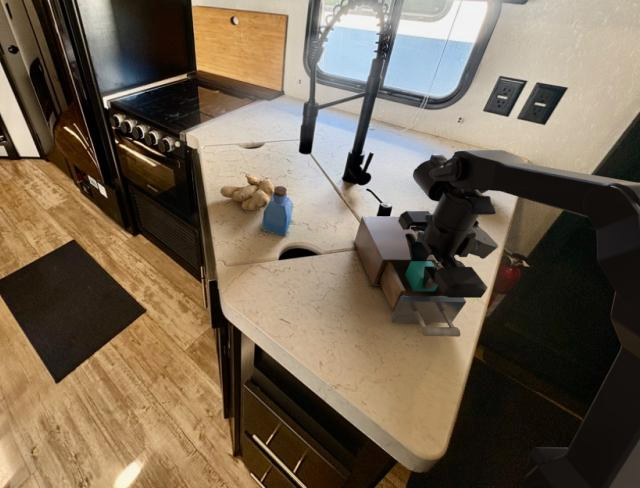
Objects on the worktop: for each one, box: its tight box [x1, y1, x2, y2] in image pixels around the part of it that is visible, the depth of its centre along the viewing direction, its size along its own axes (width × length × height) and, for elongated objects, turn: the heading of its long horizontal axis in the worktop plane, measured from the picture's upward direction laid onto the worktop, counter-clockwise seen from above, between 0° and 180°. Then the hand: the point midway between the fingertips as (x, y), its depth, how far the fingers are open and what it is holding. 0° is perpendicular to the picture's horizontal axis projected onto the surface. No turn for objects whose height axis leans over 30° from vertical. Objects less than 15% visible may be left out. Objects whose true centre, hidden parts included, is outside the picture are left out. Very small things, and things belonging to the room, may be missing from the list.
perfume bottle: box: [262, 185, 294, 237], centre depth 81 cm, size 6×6×12 cm
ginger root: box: [219, 173, 277, 211], centre depth 91 cm, size 16×16×8 cm
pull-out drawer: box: [379, 262, 467, 338], centre depth 61 cm, size 17×11×7 cm, turn 0°
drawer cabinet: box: [353, 215, 439, 287], centre depth 71 cm, size 14×13×9 cm
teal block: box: [405, 261, 438, 291], centre depth 60 cm, size 4×4×4 cm
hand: (421, 279), depth 61 cm, fingers closed on teal block, 4 cm apart
